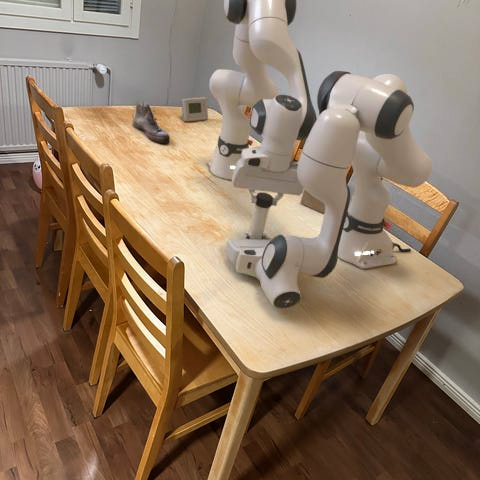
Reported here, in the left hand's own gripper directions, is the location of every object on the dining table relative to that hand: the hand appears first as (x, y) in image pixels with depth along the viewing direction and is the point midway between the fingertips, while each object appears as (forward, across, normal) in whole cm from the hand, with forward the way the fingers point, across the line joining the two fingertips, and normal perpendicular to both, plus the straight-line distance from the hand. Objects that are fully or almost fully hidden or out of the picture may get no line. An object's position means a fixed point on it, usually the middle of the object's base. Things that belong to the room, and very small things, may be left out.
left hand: (263, 203), depth 126 cm
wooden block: (+17, -30, -36) cm, 50 cm away
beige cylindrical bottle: (+17, 0, 0) cm, 17 cm away
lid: (-2, 0, 0) cm, 2 cm away
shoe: (+17, +36, -85) cm, 94 cm away
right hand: (+11, 0, -1) cm, 11 cm away
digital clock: (+17, +16, -114) cm, 117 cm away
